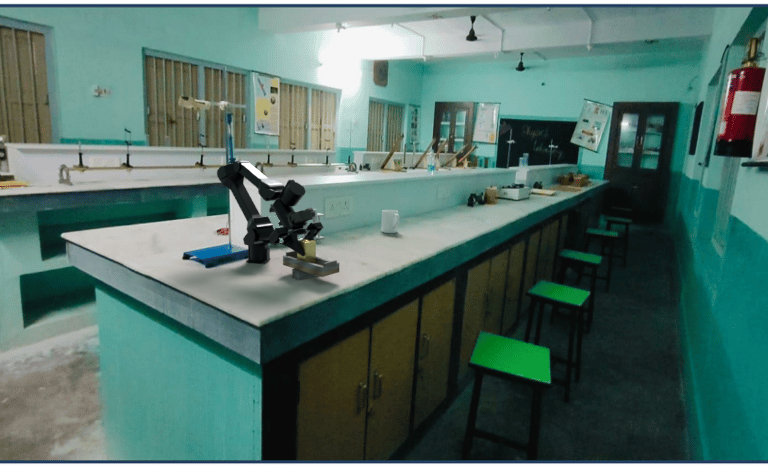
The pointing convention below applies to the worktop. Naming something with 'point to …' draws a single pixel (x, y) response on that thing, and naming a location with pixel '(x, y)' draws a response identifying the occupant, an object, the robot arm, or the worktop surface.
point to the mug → (389, 221)
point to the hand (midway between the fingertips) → (309, 254)
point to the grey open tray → (309, 266)
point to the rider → (308, 250)
